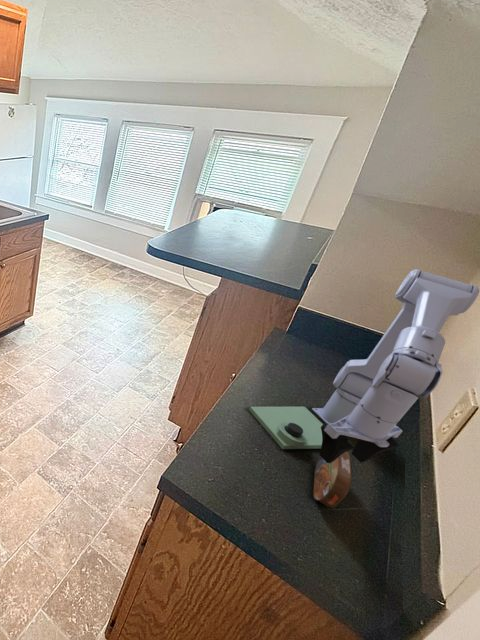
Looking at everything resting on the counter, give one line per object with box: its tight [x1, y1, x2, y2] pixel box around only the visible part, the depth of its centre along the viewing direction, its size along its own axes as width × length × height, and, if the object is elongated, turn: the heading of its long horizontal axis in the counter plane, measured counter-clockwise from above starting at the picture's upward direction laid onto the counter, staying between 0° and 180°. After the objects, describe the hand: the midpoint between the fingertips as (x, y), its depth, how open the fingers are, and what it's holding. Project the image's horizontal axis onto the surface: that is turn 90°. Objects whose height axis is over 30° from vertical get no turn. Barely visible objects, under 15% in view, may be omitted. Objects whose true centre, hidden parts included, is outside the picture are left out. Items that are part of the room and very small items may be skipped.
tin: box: [313, 451, 353, 509], centre depth 79 cm, size 15×3×8 cm, turn 141°
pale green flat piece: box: [248, 406, 324, 450], centre depth 95 cm, size 16×12×3 cm
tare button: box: [285, 423, 303, 438], centre depth 90 cm, size 3×3×2 cm
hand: (341, 458), depth 77 cm, fingers open, 7 cm apart
